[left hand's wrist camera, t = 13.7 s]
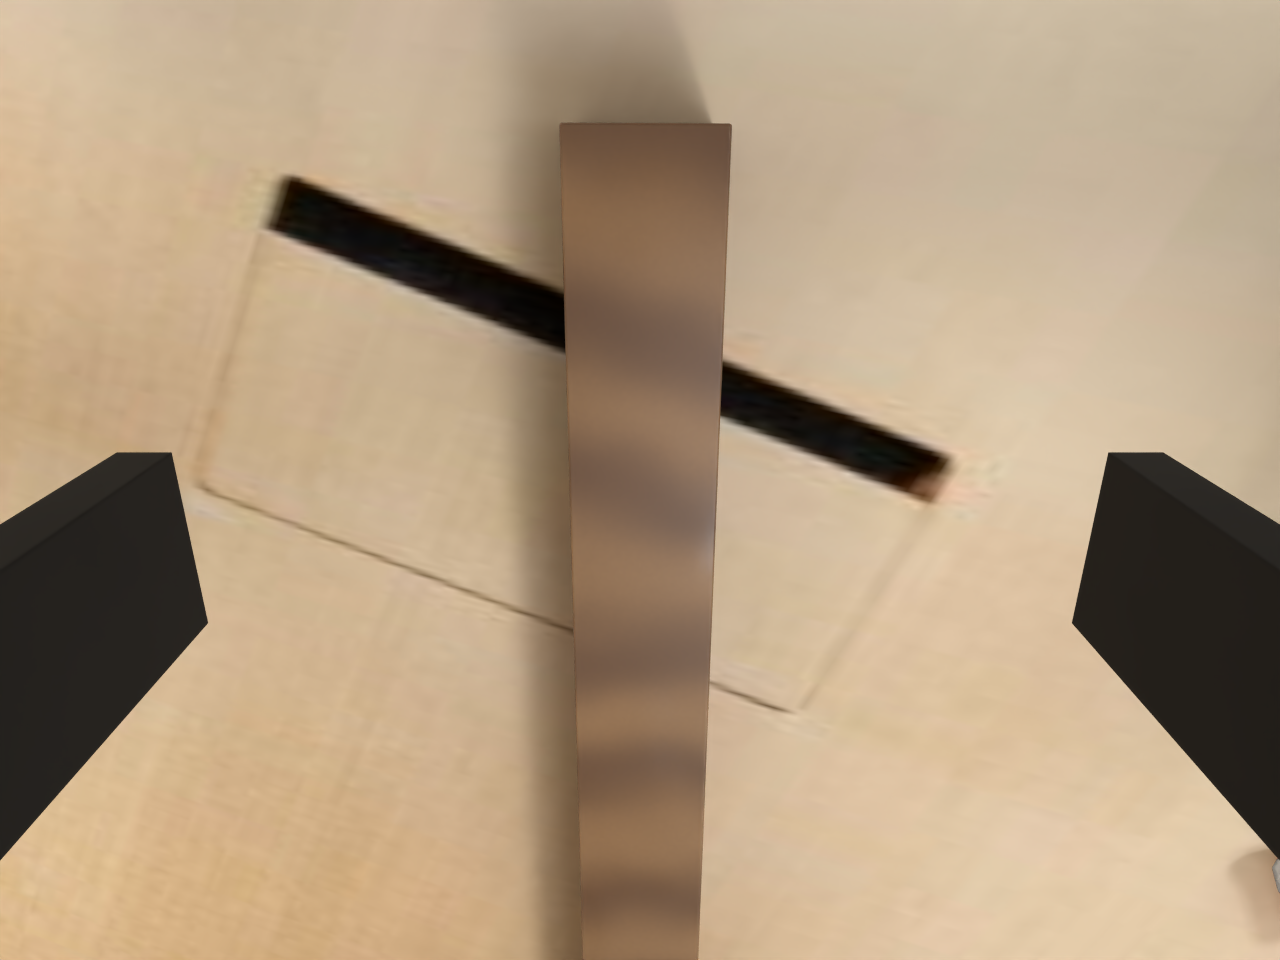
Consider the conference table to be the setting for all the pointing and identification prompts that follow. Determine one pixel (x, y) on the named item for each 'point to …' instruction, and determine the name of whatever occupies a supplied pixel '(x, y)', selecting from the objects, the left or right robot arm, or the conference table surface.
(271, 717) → the conference table surface
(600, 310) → the beam
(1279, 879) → the fish
